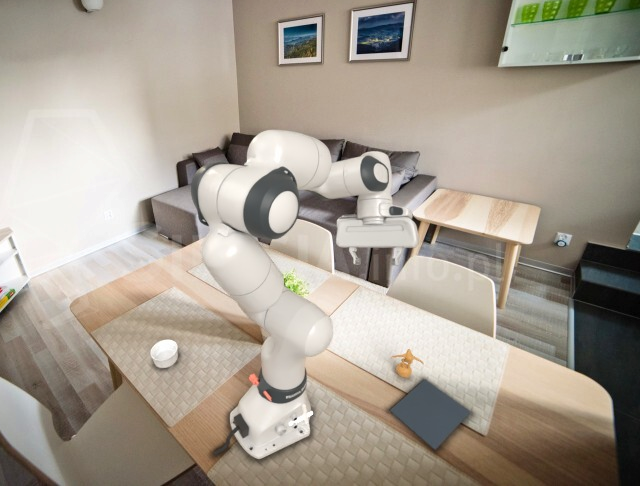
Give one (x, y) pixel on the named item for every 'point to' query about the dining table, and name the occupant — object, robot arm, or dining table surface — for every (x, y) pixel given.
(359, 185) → the robot arm
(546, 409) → the dining table surface
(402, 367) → the figurine
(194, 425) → the dining table surface
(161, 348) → the ramekin
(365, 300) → the dining table surface
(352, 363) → the dining table surface
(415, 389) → the felt mat
